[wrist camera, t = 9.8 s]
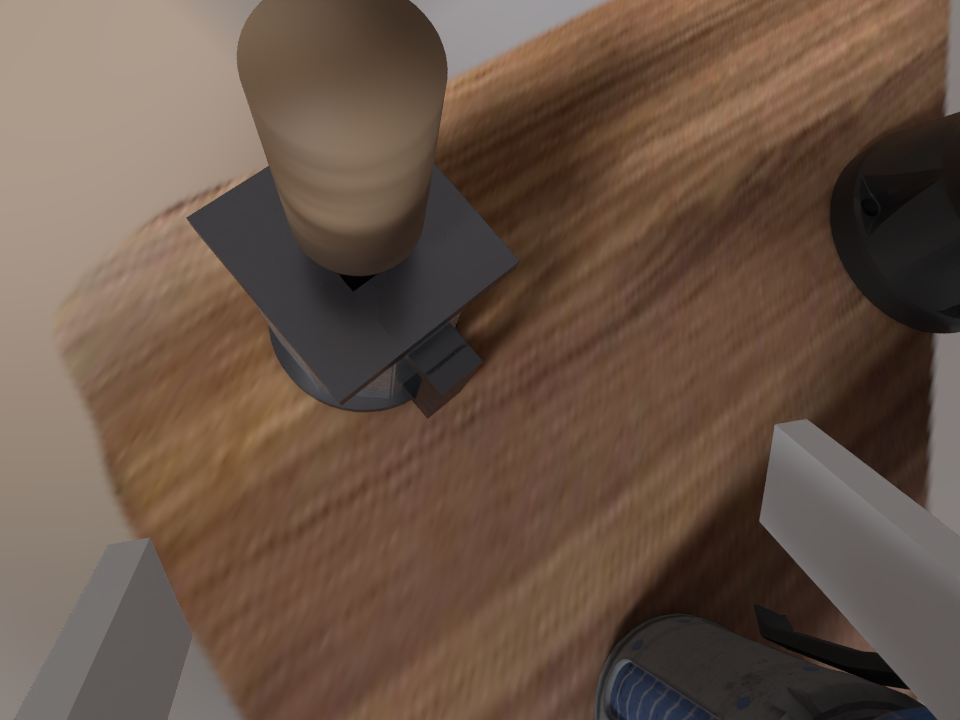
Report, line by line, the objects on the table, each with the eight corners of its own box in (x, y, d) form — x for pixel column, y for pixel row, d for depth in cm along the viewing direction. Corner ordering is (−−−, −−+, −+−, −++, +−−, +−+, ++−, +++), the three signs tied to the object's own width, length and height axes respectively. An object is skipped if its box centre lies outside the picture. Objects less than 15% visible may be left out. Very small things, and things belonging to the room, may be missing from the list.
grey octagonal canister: (507, 354, 37) (565, 289, 26) (367, 470, 34) (361, 457, 23) (379, 205, 38) (379, 78, 26) (232, 307, 35) (159, 214, 23)
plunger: (433, 294, 30) (487, 85, 15) (355, 353, 29) (326, 192, 14) (370, 221, 31) (361, -56, 15) (290, 277, 29) (192, 35, 14)
